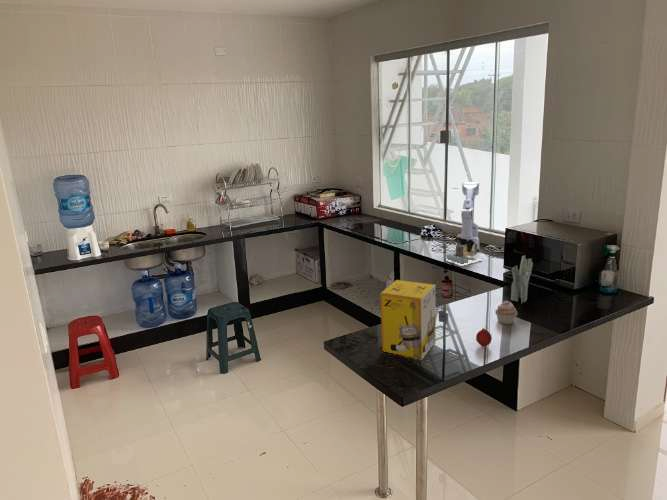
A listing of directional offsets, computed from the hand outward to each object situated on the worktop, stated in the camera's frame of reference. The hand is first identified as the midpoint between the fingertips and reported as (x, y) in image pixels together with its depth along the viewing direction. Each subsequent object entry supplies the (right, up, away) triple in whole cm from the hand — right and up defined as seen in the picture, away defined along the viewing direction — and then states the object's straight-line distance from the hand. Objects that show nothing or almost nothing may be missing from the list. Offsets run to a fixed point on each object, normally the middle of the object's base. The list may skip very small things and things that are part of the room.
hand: (466, 251), depth 299 cm
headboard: (-2, -6, +1) cm, 6 cm away
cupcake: (-5, -31, -83) cm, 89 cm away
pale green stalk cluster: (+9, -23, -61) cm, 66 cm away
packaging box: (-50, -38, -101) cm, 119 cm away
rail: (0, -2, +1) cm, 2 cm away
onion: (-21, -37, -103) cm, 112 cm away
